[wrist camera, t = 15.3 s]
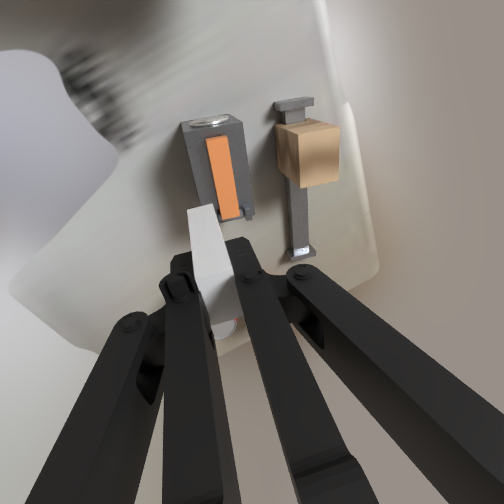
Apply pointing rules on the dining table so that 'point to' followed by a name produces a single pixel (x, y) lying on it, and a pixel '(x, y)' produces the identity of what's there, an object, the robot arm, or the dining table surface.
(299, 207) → the rail
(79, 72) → the dining table surface
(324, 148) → the block
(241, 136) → the dark grey block
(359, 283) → the dining table surface
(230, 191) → the lever
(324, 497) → the robot arm
